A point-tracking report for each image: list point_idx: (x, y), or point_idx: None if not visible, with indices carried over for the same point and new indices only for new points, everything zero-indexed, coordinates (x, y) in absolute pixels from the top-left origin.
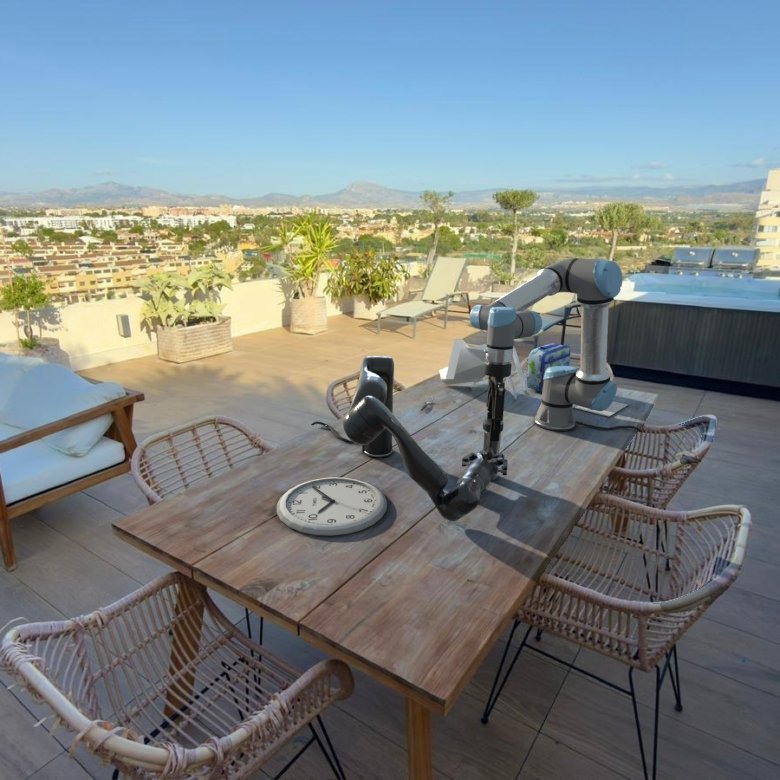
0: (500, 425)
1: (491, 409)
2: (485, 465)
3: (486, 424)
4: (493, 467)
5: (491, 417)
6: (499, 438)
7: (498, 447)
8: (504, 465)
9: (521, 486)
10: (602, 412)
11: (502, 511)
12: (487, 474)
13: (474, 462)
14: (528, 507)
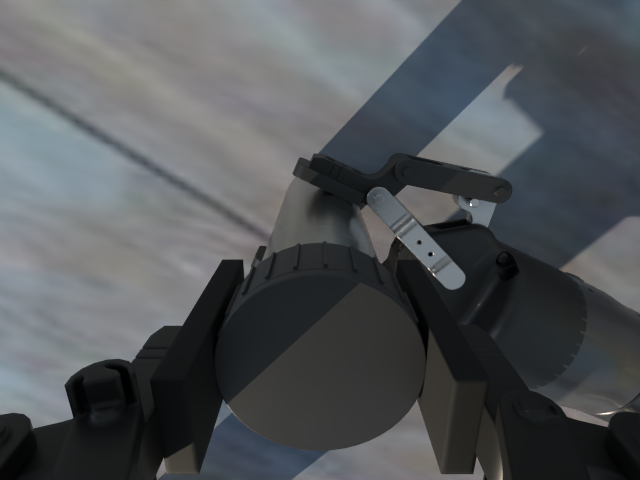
0: (413, 318)
1: (143, 468)
2: (568, 326)
3: (374, 434)
4: (493, 255)
5: (209, 387)
6: (366, 248)
7: (360, 226)
8: (481, 193)
9: (415, 70)
10: None
11: (612, 201)
12: (608, 310)
13: (533, 376)
14: (606, 85)
